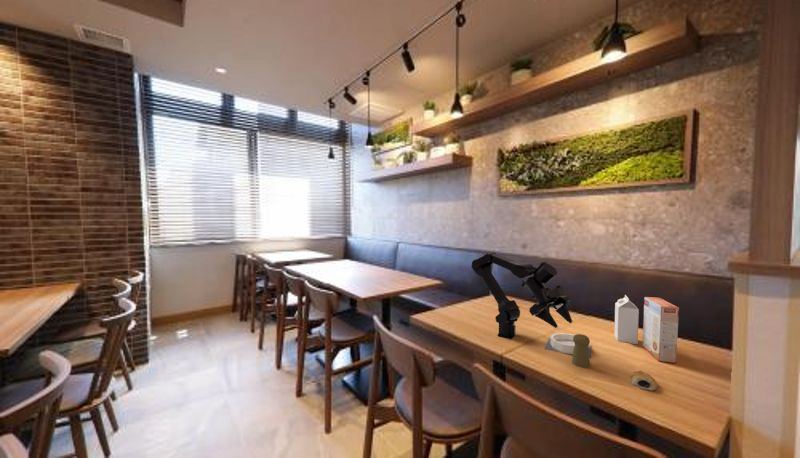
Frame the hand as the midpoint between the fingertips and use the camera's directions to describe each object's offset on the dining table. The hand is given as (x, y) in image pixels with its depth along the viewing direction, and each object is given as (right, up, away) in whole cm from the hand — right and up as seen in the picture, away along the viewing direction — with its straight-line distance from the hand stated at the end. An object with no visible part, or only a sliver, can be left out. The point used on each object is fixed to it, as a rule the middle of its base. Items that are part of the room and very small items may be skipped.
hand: (564, 324), depth 121 cm
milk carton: (+35, -12, +17) cm, 40 cm away
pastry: (+16, -14, -18) cm, 28 cm away
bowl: (+6, -12, +9) cm, 16 cm away
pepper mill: (+4, -13, -5) cm, 15 cm away
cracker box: (+38, -13, +3) cm, 40 cm away
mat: (+6, -12, +9) cm, 16 cm away
